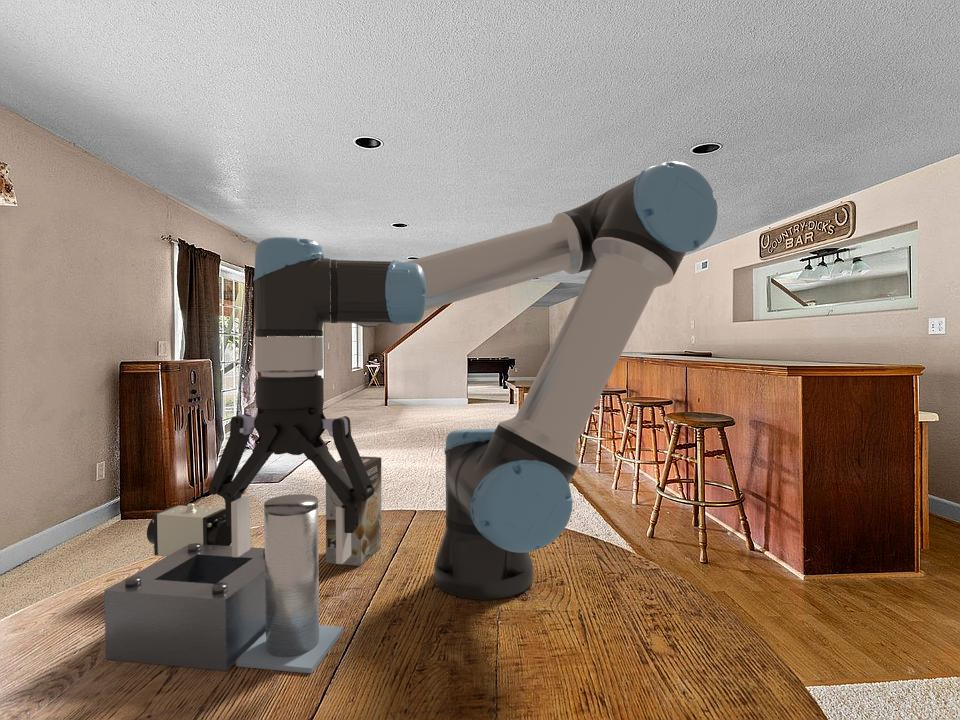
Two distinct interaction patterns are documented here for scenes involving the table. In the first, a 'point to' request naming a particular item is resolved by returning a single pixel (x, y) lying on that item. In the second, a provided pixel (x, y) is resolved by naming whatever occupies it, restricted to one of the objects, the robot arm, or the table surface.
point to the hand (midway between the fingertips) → (291, 556)
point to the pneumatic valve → (188, 528)
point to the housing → (188, 609)
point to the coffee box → (369, 512)
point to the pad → (300, 663)
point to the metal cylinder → (291, 574)
